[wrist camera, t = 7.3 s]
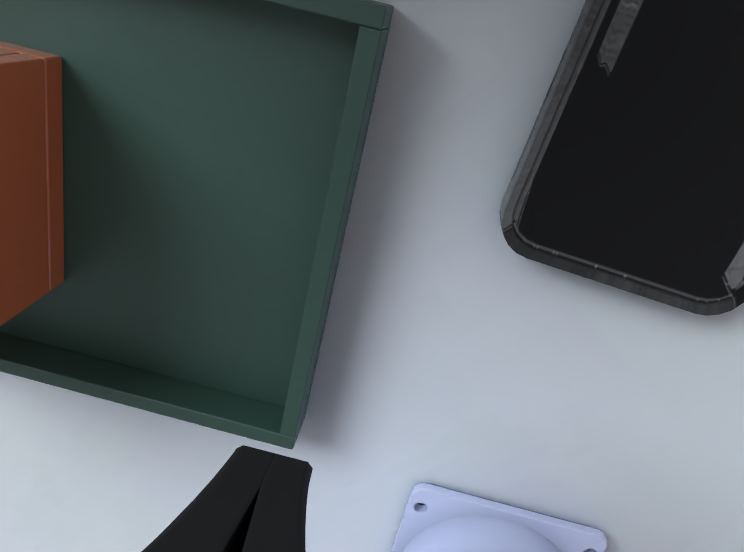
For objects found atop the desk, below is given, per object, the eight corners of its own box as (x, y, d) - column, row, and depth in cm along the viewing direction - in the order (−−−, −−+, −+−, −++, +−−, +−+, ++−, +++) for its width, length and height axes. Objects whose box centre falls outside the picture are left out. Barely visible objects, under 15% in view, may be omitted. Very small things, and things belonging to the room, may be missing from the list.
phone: (1151, -302, 11) (731, 325, 18) (1094, -277, 13) (716, 308, 19) (771, -432, 11) (487, 245, 18) (745, -395, 12) (485, 232, 19)
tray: (304, 417, 23) (292, 450, 22) (-190, 286, 24) (-240, 307, 22) (394, 5, 17) (387, 6, 15) (-292, -166, 17) (-375, -185, 15)
